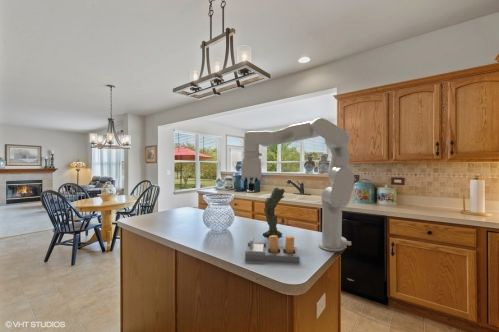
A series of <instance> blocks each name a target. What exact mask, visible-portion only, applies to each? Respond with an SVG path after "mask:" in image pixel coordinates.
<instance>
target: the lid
mask: <svg viewBox="0 0 499 332" xmlns="http://www.w3.org/2000/svg"><path fill="white" fill-rule="evenodd" d="M254 238H255V236H251V237H250V241H249V242H250V251H263V248H264V244H254V242H255V239H254Z"/></svg>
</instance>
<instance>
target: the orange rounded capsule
mask: <svg viewBox="0 0 499 332" xmlns="http://www.w3.org/2000/svg"><path fill="white" fill-rule="evenodd" d="M268 238H269V239H268V240H269V241H268V242H269V245H268V246H270V253H278V246H279V238H278V236H276V235H271V236H269V237H268Z"/></svg>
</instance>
